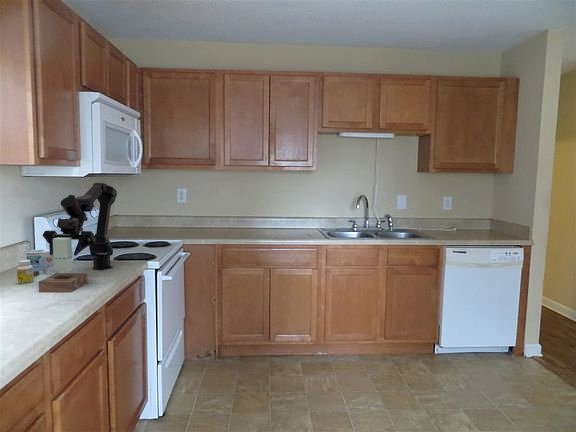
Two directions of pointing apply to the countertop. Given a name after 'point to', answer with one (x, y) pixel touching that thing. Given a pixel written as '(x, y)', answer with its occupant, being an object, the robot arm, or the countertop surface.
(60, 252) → the stub
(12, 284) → the countertop surface
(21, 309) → the countertop surface
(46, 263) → the light bulb box
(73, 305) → the countertop surface
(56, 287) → the brown stepped stand
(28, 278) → the supplement bottle
